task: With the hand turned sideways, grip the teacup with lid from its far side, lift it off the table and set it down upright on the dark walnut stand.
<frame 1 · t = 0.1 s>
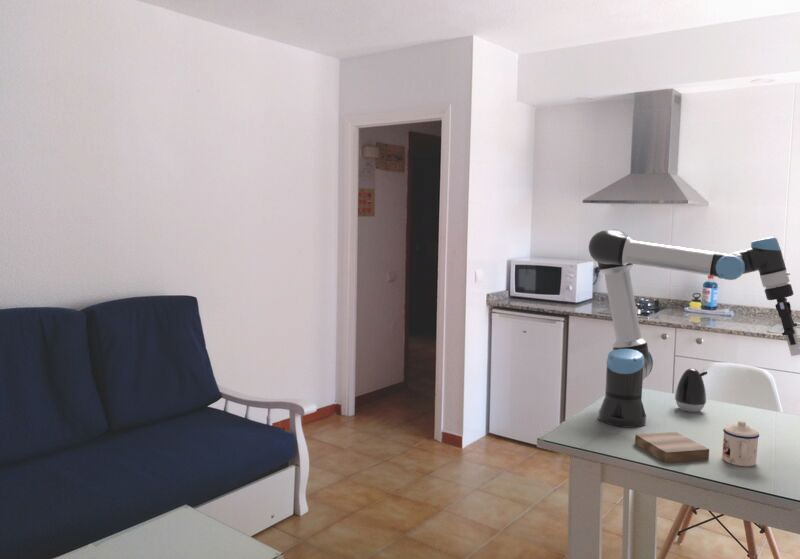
hand: (796, 351, 207), 28 cm above the table, tool tilted 20°, fingers open, 13 cm apart
pump dispenser: (689, 410, 236), on the table
teacup with lid: (739, 463, 187), on the table
walnut stand: (670, 451, 194), on the table
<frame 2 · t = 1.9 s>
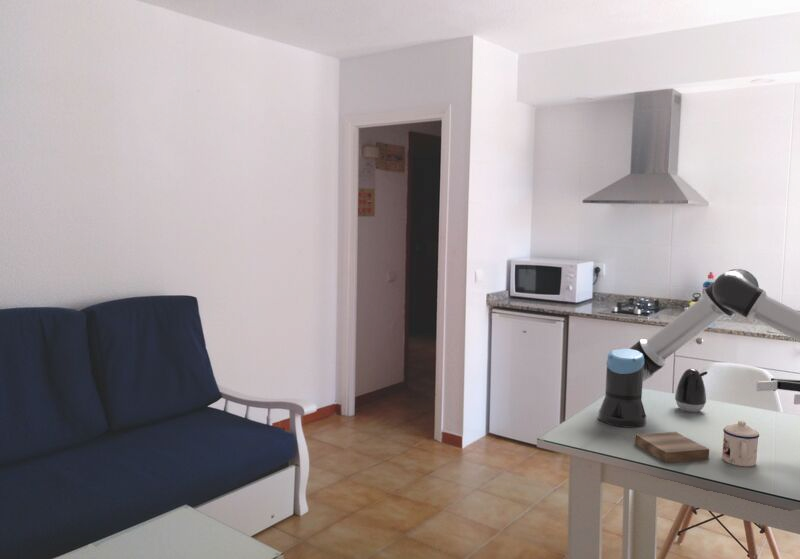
hand: (775, 392, 187), 20 cm above the table, tool horizontal, fingers open, 13 cm apart
nothing on the table moved.
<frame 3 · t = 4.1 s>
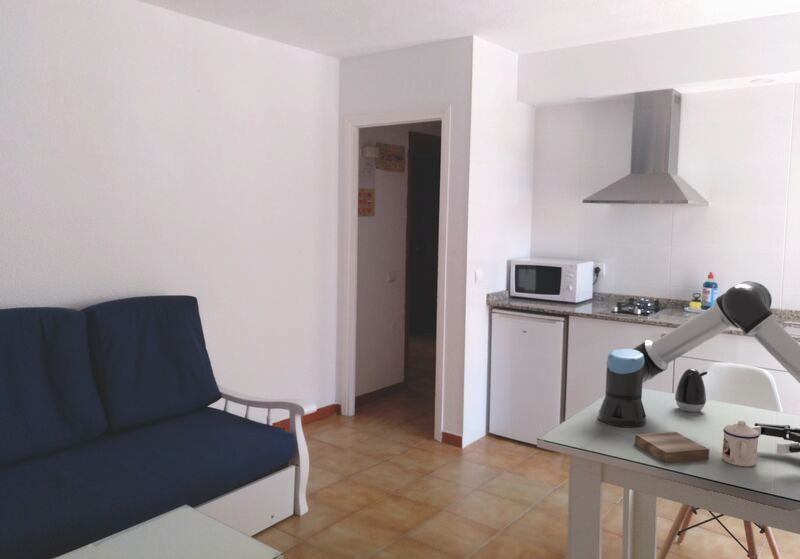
hand: (758, 440, 187), 6 cm above the table, tool horizontal, fingers open, 13 cm apart
nothing on the table moved.
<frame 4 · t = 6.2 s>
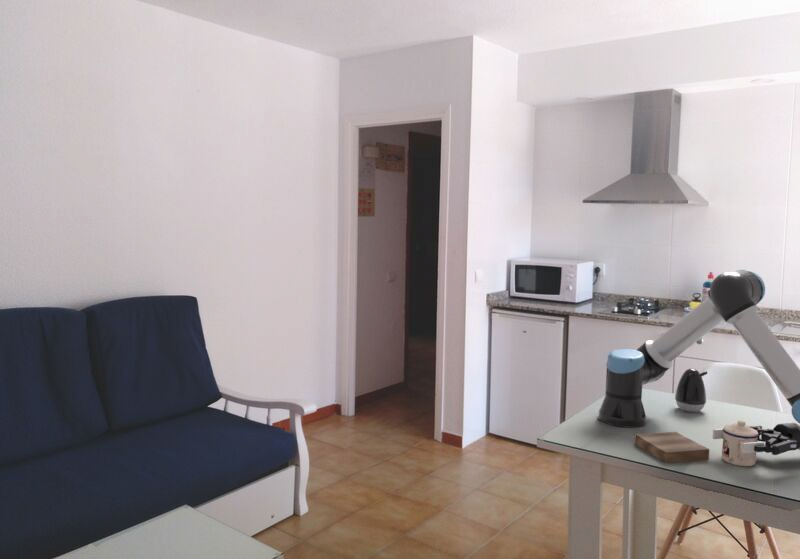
hand: (727, 441, 185), 7 cm above the table, tool horizontal, fingers closed on teacup with lid, 11 cm apart
teacup with lid: (738, 463, 187), on the table, touching gripper
everything else where it was.
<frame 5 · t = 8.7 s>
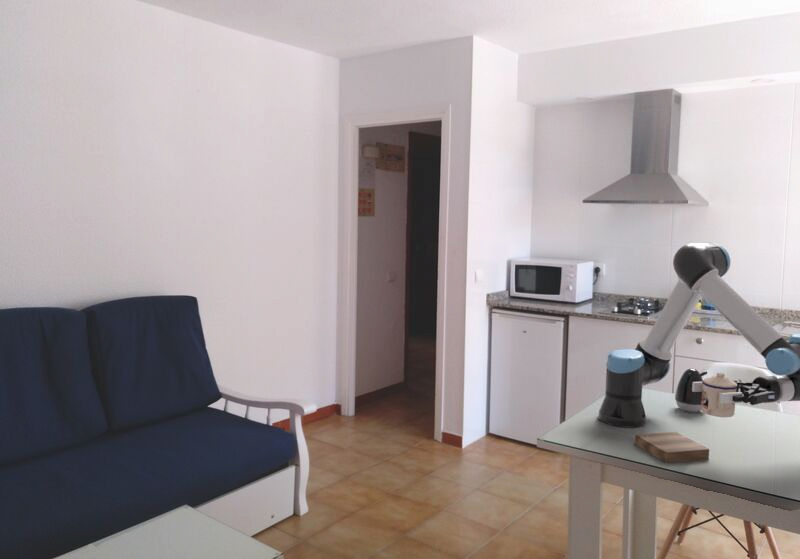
hand: (706, 392, 186), 20 cm above the table, tool horizontal, fingers closed on teacup with lid, 11 cm apart
teacup with lid: (717, 415, 187), point 13 cm above the table, touching gripper
everything else where it was.
when the fingers open (11 cm above the table, at t = 11.6 s): teacup with lid drops 1 cm, resting on walnut stand.
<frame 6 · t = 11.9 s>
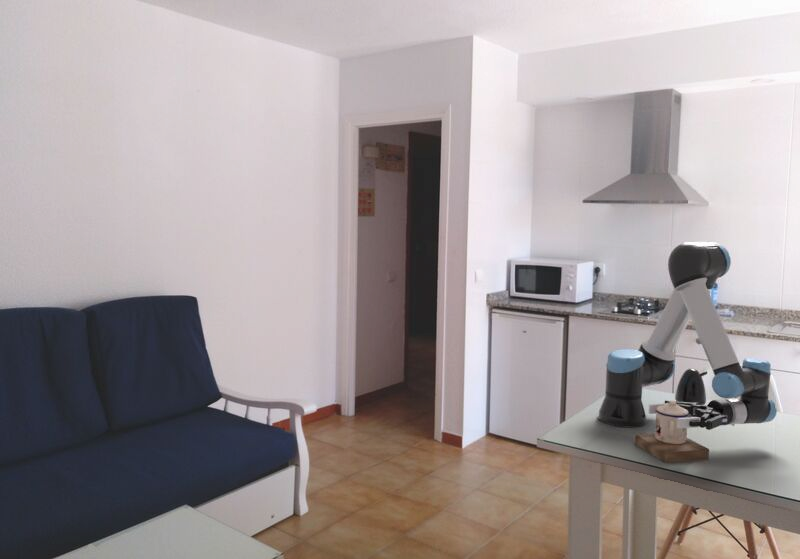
hand: (663, 415, 193), 11 cm above the table, tool horizontal, fingers open, 13 cm apart
teacup with lid: (670, 441, 195), point 3 cm above the table, touching walnut stand
everything else where it was.
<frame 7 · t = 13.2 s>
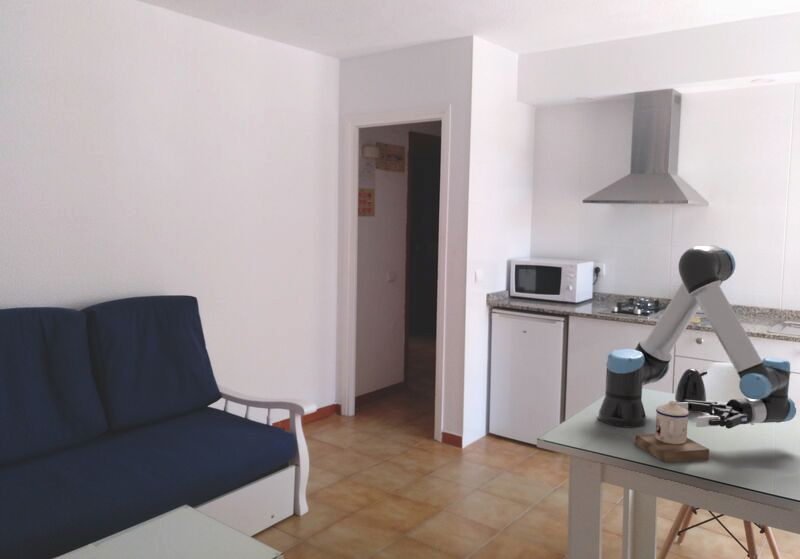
hand: (682, 414, 193), 11 cm above the table, tool horizontal, fingers open, 13 cm apart
nothing on the table moved.
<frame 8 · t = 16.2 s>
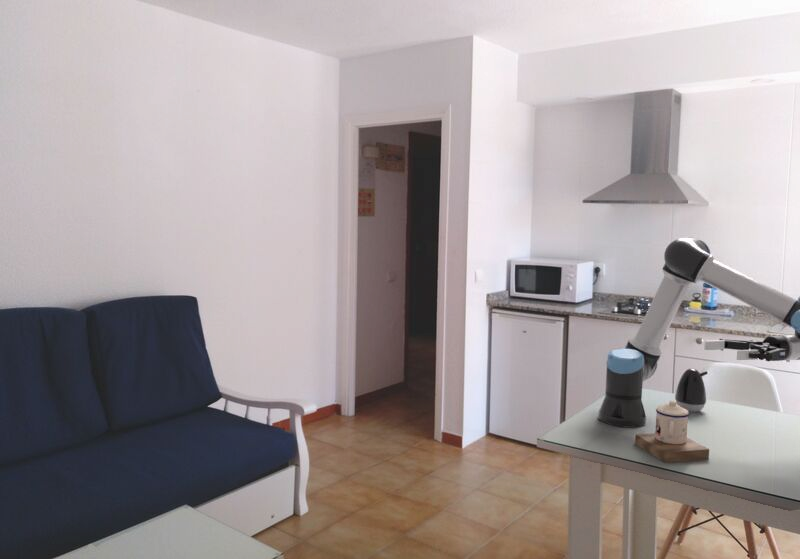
hand: (720, 350, 195), 30 cm above the table, tool horizontal, fingers open, 13 cm apart
nothing on the table moved.
at the end: teacup with lid inside the target area on the walnut stand (0.3 cm from its centre), point 2.8 cm above the walnut stand's base; teacup with lid tilted 0°; the gripper is holding nothing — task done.
